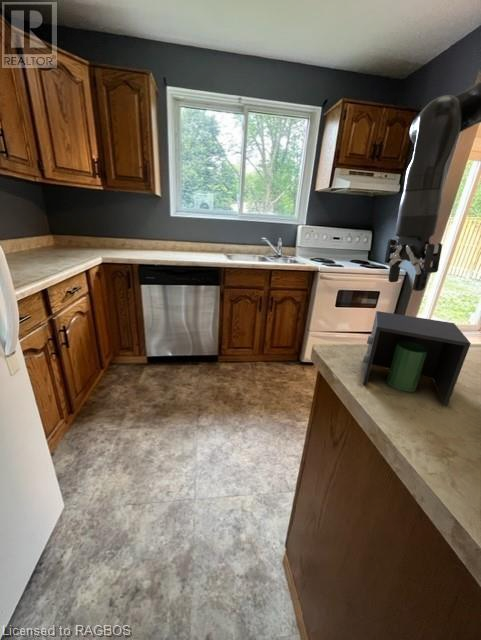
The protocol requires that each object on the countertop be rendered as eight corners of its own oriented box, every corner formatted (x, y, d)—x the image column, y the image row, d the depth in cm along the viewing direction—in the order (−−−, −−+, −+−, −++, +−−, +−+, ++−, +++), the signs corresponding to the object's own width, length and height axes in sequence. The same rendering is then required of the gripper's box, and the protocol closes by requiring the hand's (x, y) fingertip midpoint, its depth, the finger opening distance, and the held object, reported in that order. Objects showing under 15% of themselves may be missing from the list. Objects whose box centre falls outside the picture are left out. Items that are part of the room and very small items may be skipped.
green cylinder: (414, 381, 66) (425, 344, 63) (417, 394, 61) (430, 355, 58) (386, 374, 69) (395, 338, 65) (387, 386, 63) (397, 348, 60)
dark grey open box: (435, 377, 68) (454, 323, 63) (447, 406, 57) (471, 343, 52) (360, 360, 75) (372, 310, 70) (358, 383, 64) (371, 325, 59)
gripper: (462, 212, 53) (443, 292, 59) (410, 212, 66) (398, 278, 72) (427, 214, 52) (411, 295, 58) (381, 214, 65) (372, 280, 71)
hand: (404, 285), depth 65 cm, fingers open, 8 cm apart
